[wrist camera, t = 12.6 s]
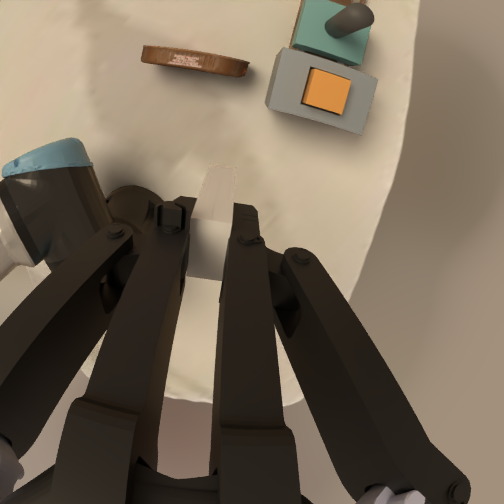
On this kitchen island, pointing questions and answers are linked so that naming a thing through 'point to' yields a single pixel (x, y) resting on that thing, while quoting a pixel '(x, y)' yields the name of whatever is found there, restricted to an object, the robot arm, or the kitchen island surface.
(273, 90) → the cabinet
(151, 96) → the kitchen island surface
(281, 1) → the kitchen island surface
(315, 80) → the button
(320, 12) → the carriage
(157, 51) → the tin
